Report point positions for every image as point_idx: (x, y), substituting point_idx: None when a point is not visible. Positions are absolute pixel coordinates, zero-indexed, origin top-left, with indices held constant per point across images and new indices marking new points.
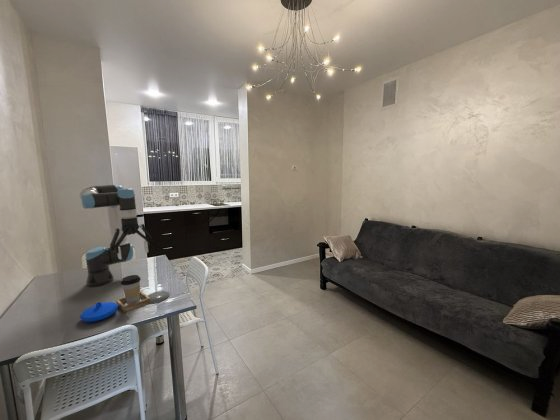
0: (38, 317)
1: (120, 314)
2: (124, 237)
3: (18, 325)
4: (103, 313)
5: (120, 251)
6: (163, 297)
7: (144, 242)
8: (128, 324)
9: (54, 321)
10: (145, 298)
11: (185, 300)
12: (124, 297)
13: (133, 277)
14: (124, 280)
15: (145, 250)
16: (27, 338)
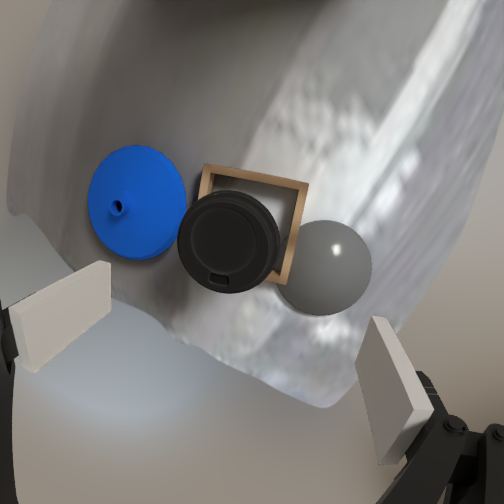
0: (69, 49)
1: None
2: (10, 484)
3: (41, 63)
4: (125, 251)
5: (63, 346)
6: (328, 303)
7: (397, 408)
8: (170, 334)
9: (73, 110)
10: (286, 247)
11: (347, 376)
12: (235, 171)
13: (237, 255)
14: (184, 252)
15: (370, 338)
16: (29, 155)
